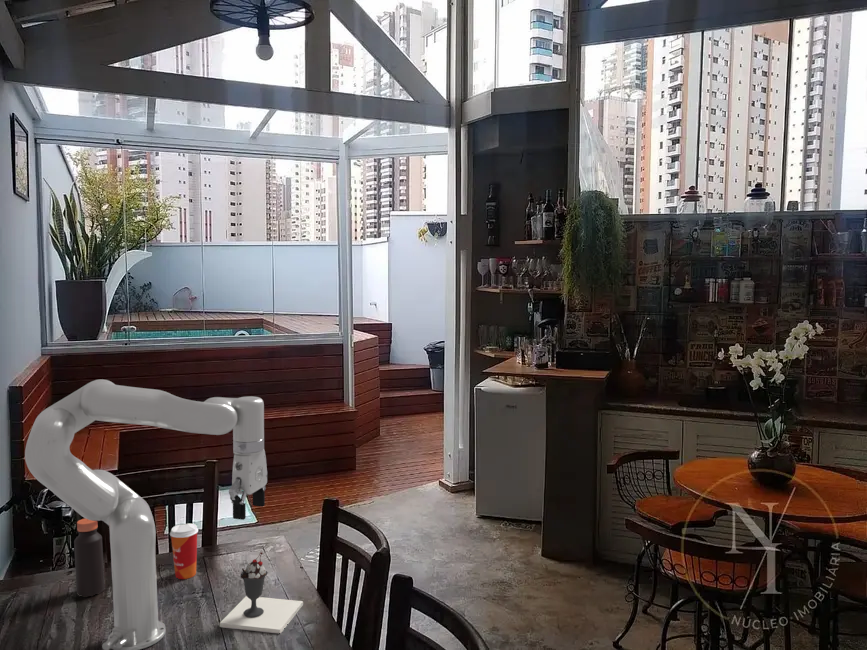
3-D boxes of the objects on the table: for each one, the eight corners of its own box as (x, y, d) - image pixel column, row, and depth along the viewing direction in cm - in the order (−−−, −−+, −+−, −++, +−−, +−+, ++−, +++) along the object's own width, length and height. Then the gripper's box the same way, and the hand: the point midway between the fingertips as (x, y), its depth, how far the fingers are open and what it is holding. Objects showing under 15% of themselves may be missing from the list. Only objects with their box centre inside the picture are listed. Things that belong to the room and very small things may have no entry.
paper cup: (170, 572, 193) (168, 525, 192) (198, 567, 196) (196, 521, 195) (172, 583, 186) (170, 535, 185) (201, 578, 189) (199, 530, 188)
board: (280, 633, 160) (280, 629, 160) (219, 627, 163) (219, 623, 163) (303, 604, 174) (303, 601, 174) (246, 599, 177) (246, 595, 177)
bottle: (103, 595, 180) (99, 523, 178) (75, 599, 177) (71, 527, 176) (105, 584, 186) (102, 514, 184) (78, 588, 184) (74, 518, 182)
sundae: (271, 607, 171) (272, 550, 170) (260, 620, 164) (261, 560, 163) (247, 605, 172) (247, 548, 171) (235, 617, 165) (236, 558, 164)
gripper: (244, 455, 159) (245, 525, 160) (278, 439, 175) (278, 502, 177) (216, 453, 160) (217, 522, 162) (252, 437, 177) (252, 499, 178)
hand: (249, 512), depth 169 cm, fingers open, 9 cm apart
